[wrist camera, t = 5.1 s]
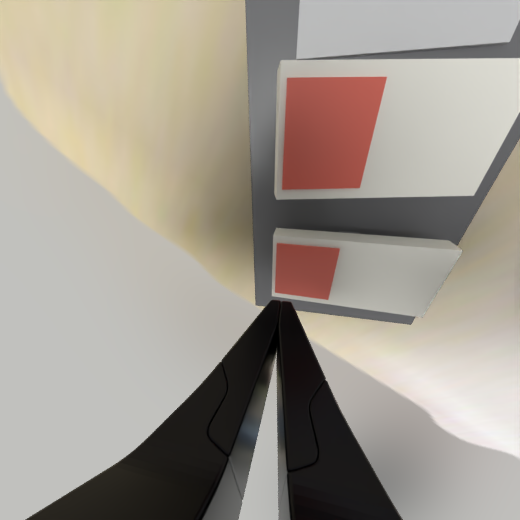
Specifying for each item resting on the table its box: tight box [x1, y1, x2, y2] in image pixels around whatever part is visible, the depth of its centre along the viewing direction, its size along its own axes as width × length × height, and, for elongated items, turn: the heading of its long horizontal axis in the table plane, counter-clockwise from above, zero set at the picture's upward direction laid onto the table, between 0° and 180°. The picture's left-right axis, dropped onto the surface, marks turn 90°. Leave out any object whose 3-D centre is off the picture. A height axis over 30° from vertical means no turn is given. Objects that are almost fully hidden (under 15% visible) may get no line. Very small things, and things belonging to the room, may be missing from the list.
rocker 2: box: [272, 228, 463, 317], centre depth 10 cm, size 8×4×1 cm, turn 92°
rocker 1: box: [274, 58, 520, 200], centre depth 7 cm, size 8×4×1 cm, turn 91°
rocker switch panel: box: [245, 0, 520, 325], centre depth 10 cm, size 11×20×4 cm, turn 1°
